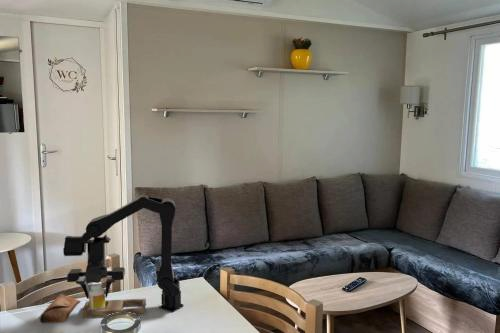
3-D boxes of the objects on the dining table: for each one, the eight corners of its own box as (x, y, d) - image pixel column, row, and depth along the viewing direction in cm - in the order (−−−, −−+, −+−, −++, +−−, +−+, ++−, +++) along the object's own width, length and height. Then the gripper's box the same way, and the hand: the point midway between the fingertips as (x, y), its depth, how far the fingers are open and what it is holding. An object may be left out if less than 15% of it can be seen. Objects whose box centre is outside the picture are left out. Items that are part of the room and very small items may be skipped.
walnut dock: (145, 303, 163) (145, 298, 162) (144, 314, 154) (144, 308, 154) (86, 306, 159) (86, 301, 159) (81, 317, 150) (81, 312, 150)
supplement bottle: (108, 308, 157) (107, 282, 156) (98, 314, 152) (97, 287, 151) (96, 306, 159) (95, 280, 158) (86, 312, 154) (84, 285, 153)
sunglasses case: (66, 322, 147) (55, 305, 146) (48, 332, 146) (36, 316, 145) (81, 300, 164) (71, 285, 163) (65, 309, 164) (55, 295, 163)
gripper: (62, 263, 144) (63, 309, 145) (121, 261, 147) (121, 306, 149) (70, 253, 155) (71, 295, 156) (124, 251, 158) (125, 293, 159)
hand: (97, 297), depth 155 cm, fingers open, 6 cm apart
